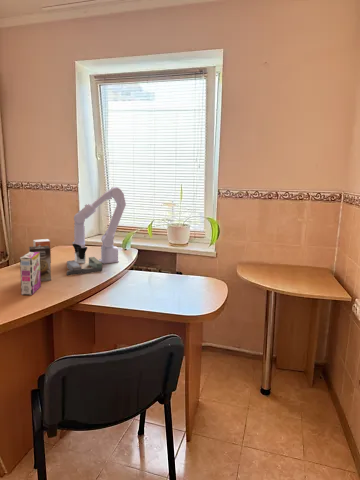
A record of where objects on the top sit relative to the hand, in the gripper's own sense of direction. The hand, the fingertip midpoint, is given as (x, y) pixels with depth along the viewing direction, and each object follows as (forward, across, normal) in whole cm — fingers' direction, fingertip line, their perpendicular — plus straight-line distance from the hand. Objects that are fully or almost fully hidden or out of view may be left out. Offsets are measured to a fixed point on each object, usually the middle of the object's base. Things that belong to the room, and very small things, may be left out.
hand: (79, 257), depth 191 cm
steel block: (+3, 0, 0) cm, 3 cm away
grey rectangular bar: (+3, +14, -7) cm, 16 cm away
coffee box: (+3, +22, -25) cm, 33 cm away
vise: (+3, +14, -3) cm, 15 cm away
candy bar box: (+3, +36, -31) cm, 48 cm away
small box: (+3, -8, -19) cm, 21 cm away
